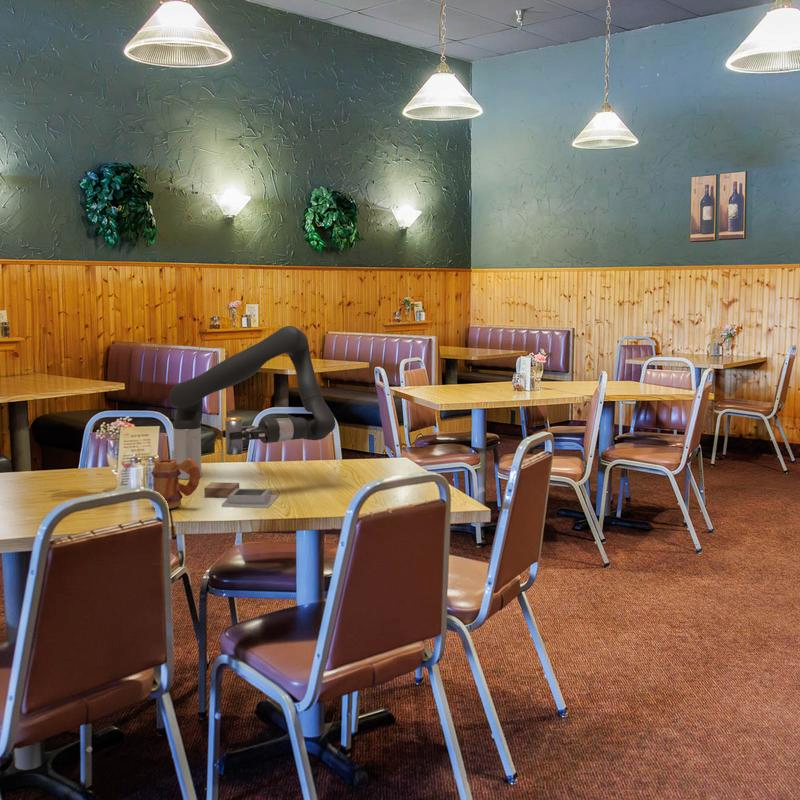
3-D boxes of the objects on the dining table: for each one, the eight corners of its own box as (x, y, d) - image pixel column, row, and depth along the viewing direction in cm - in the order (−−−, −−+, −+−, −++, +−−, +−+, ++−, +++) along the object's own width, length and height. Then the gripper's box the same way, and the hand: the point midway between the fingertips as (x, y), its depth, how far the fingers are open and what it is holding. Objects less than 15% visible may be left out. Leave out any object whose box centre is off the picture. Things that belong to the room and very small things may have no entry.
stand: (204, 497, 281) (204, 487, 281) (211, 491, 290) (211, 482, 290) (233, 497, 280) (232, 488, 280) (239, 491, 289) (239, 482, 289)
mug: (146, 510, 263) (145, 459, 261) (157, 504, 271) (156, 455, 269) (194, 512, 261) (193, 461, 259) (204, 506, 269) (203, 456, 267)
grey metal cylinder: (224, 454, 277) (223, 418, 276) (228, 452, 282) (227, 416, 281) (240, 454, 277) (239, 418, 276) (244, 452, 282) (243, 416, 281)
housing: (221, 506, 268) (221, 496, 268) (232, 496, 282) (232, 487, 282) (268, 507, 267) (268, 497, 267) (276, 497, 281) (276, 488, 281)
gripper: (266, 416, 292) (216, 420, 283) (285, 421, 280) (234, 425, 271) (266, 439, 293) (217, 444, 284) (286, 445, 281) (235, 450, 272)
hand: (226, 435), depth 278 cm, fingers closed on grey metal cylinder, 5 cm apart
